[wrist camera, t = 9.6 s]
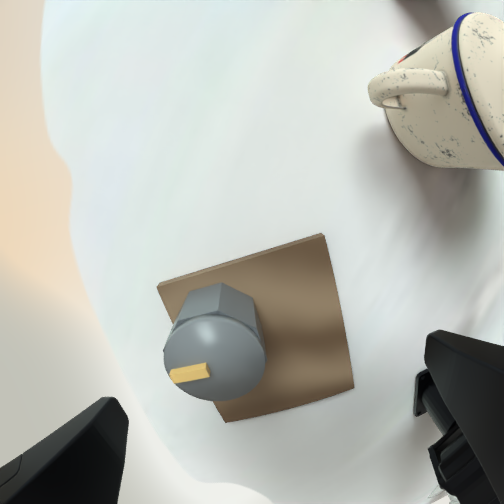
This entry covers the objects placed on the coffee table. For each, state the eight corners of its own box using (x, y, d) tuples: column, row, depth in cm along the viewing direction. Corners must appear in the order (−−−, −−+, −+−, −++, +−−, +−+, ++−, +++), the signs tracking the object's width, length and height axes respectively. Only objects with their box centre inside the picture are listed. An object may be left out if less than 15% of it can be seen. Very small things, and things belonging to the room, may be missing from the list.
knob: (245, 275, 18) (249, 313, 13) (267, 344, 19) (276, 395, 14) (167, 297, 18) (144, 339, 13) (196, 361, 19) (186, 413, 14)
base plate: (351, 382, 21) (366, 412, 18) (225, 416, 22) (223, 449, 18) (321, 232, 18) (339, 247, 14) (159, 282, 19) (142, 306, 15)
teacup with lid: (457, 63, 15) (557, 29, 4) (477, 169, 17) (592, 183, 6) (325, 47, 15) (404, -59, 4) (351, 177, 17) (485, 189, 6)
